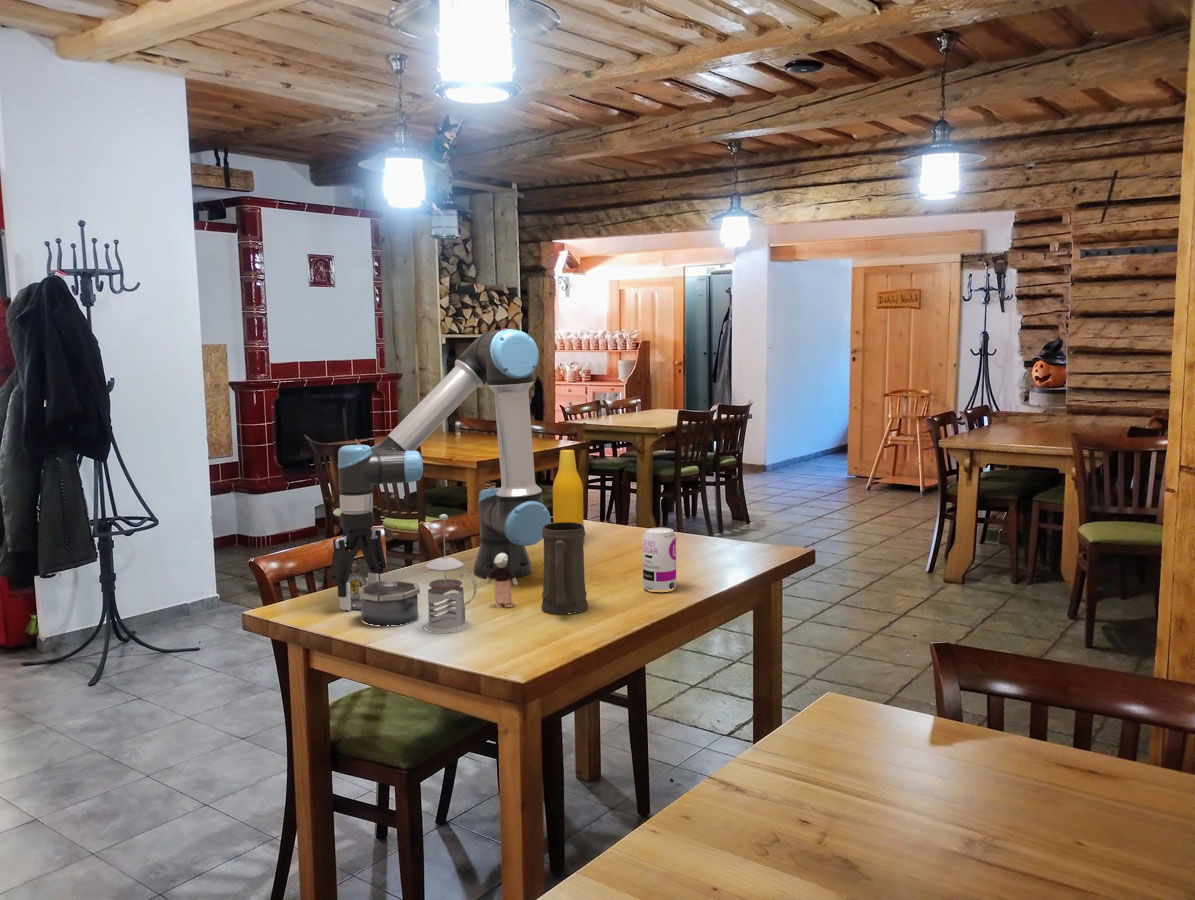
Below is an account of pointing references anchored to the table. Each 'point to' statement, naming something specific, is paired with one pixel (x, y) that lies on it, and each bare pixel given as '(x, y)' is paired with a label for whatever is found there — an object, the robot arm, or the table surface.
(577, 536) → the beer stein
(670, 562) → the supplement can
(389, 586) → the grey octagonal rimmed bowl
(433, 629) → the french press
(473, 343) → the robot arm
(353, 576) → the pocket watch
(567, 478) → the beer bottle
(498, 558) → the grandmother figurine
